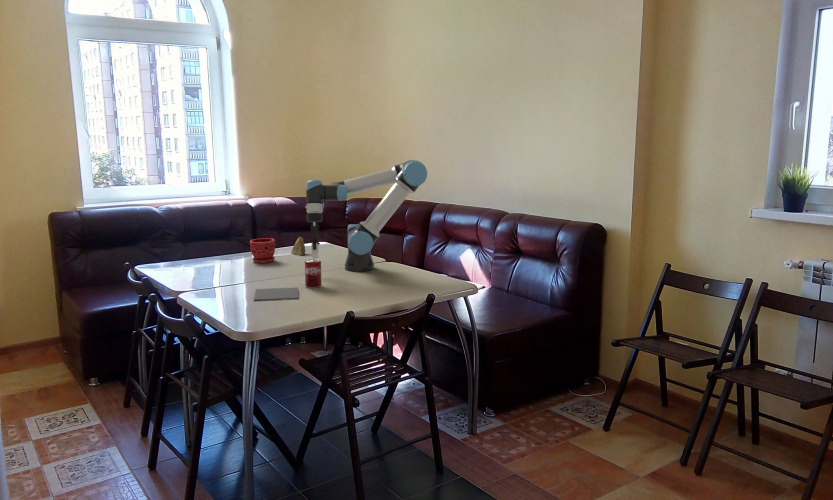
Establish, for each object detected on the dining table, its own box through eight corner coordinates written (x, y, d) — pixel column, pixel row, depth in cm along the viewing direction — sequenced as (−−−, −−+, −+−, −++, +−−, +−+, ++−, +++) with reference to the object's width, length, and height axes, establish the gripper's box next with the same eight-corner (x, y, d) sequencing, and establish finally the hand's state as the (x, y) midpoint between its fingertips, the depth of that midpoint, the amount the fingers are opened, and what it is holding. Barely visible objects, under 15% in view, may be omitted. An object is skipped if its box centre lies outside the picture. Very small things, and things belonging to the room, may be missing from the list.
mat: (297, 288, 273) (297, 287, 273) (298, 299, 255) (298, 297, 255) (255, 290, 269) (255, 289, 269) (254, 300, 252) (253, 299, 252)
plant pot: (264, 258, 340) (263, 237, 338) (280, 261, 332) (280, 239, 330) (245, 262, 329) (244, 240, 327) (261, 265, 322) (260, 242, 320)
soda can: (306, 284, 280) (305, 259, 278) (322, 284, 281) (321, 258, 279) (304, 288, 273) (303, 262, 271) (321, 288, 274) (320, 262, 272)
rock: (309, 251, 348) (310, 246, 358) (300, 240, 346) (300, 235, 355) (294, 262, 349) (295, 257, 359) (284, 251, 346) (285, 246, 356)
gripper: (307, 216, 304) (308, 258, 303) (305, 210, 279) (305, 256, 278) (323, 215, 305) (323, 258, 304) (321, 210, 280) (322, 256, 279)
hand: (315, 257), depth 291 cm, fingers open, 13 cm apart
